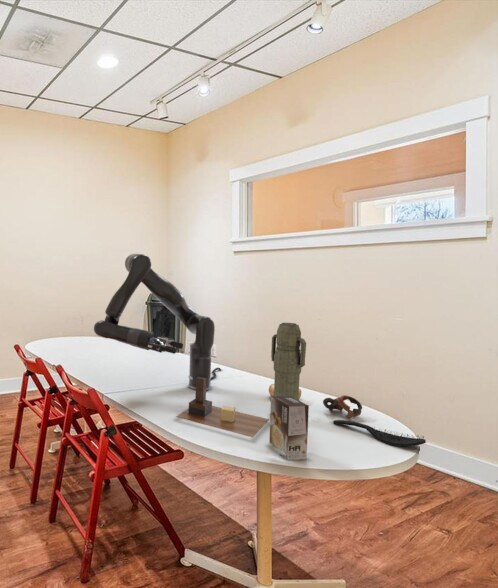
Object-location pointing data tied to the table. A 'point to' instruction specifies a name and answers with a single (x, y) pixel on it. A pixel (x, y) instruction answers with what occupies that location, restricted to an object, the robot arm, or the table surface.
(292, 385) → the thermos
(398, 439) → the hairbrush
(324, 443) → the table surface
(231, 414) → the light tan wooden block
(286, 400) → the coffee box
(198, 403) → the wooden post on base
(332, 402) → the brown looped piece
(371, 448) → the table surface
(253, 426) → the cutting board
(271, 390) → the pastry
